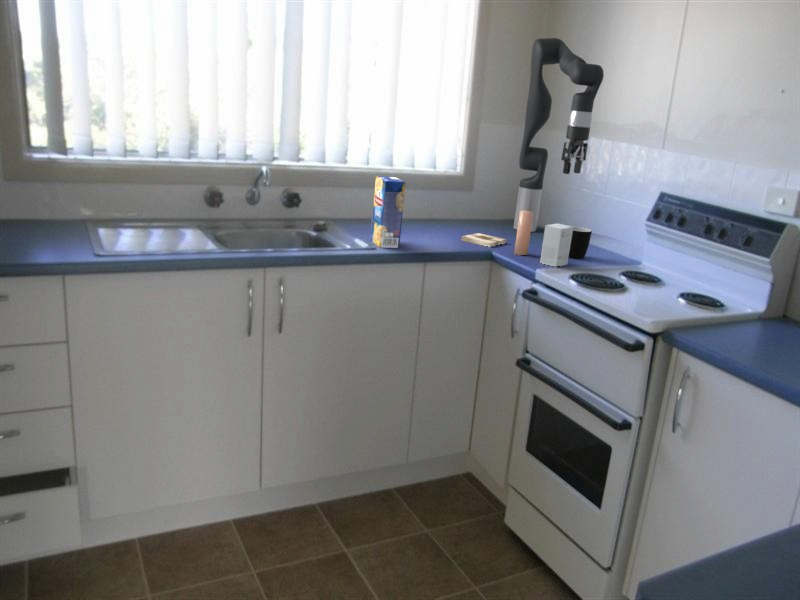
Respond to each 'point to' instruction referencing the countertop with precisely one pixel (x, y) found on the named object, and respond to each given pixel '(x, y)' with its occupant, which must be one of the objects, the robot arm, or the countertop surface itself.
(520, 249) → the pink rounded cylinder
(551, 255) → the small box
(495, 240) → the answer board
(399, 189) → the blue and yellow carton
